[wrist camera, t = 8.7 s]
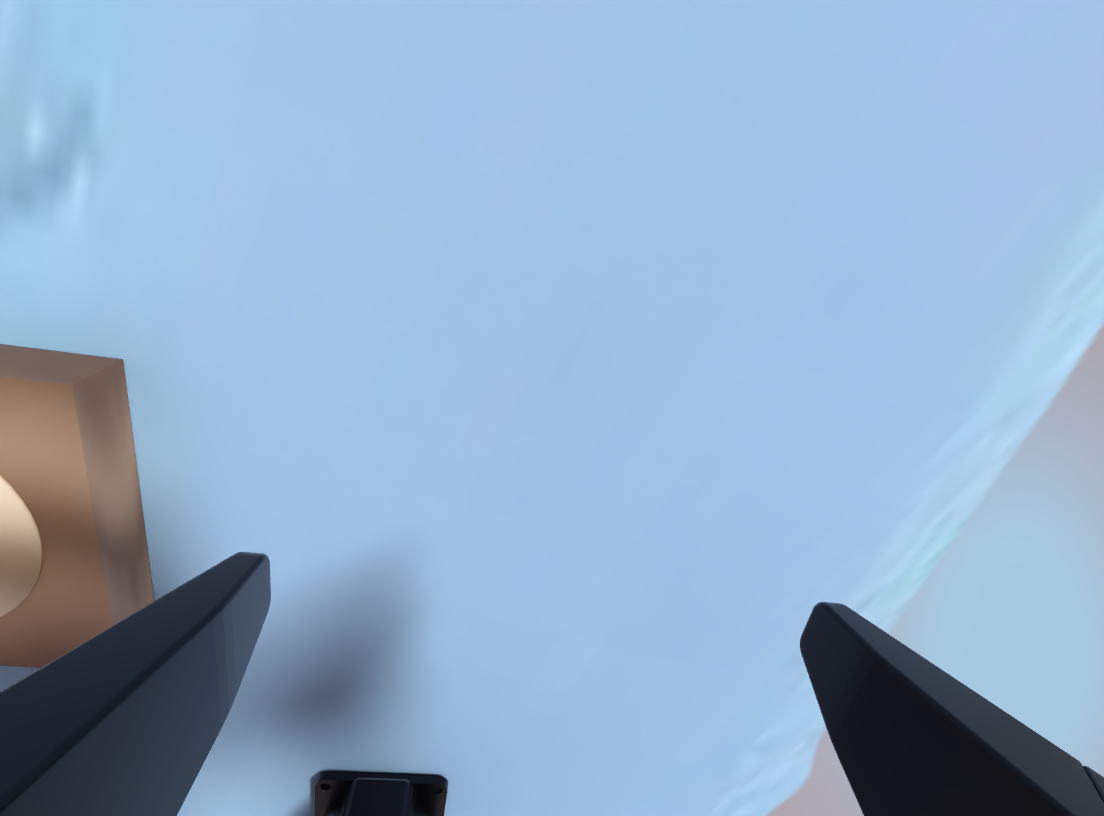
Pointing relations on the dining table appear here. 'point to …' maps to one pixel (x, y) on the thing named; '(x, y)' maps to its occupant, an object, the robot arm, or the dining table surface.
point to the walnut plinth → (66, 504)
